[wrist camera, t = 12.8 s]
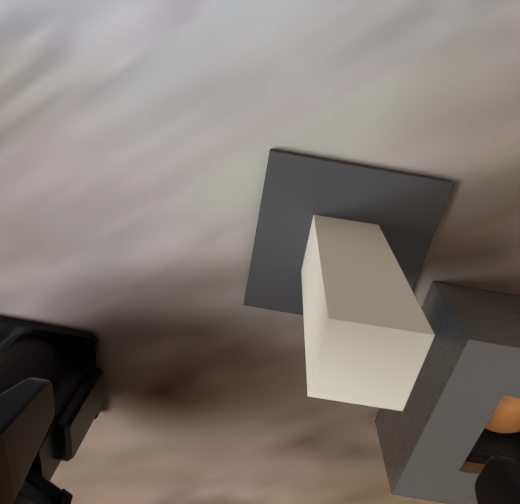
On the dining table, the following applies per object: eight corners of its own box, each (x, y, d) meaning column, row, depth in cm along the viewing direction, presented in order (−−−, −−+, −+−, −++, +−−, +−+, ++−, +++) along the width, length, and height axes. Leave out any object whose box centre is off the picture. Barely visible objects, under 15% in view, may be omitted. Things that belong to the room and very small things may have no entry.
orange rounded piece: (451, 397, 23) (465, 426, 21) (475, 350, 21) (492, 378, 19) (510, 407, 23) (529, 437, 21) (539, 361, 21) (562, 390, 19)
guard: (375, 421, 24) (391, 494, 20) (432, 281, 20) (469, 339, 16) (536, 448, 24) (584, 526, 20) (630, 315, 20) (715, 381, 16)
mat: (244, 300, 21) (243, 304, 21) (270, 148, 18) (269, 151, 17) (394, 326, 21) (395, 331, 21) (450, 180, 18) (453, 183, 17)
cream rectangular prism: (301, 271, 20) (307, 396, 13) (313, 214, 18) (328, 318, 11) (361, 280, 20) (402, 411, 13) (378, 224, 18) (434, 335, 11)
